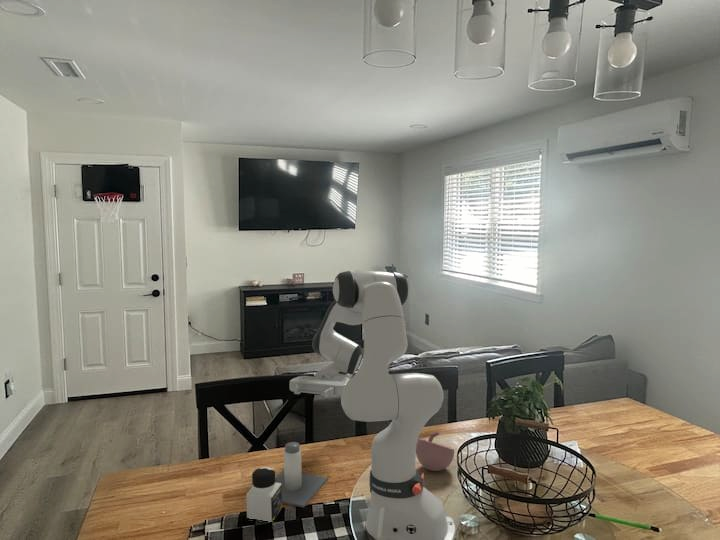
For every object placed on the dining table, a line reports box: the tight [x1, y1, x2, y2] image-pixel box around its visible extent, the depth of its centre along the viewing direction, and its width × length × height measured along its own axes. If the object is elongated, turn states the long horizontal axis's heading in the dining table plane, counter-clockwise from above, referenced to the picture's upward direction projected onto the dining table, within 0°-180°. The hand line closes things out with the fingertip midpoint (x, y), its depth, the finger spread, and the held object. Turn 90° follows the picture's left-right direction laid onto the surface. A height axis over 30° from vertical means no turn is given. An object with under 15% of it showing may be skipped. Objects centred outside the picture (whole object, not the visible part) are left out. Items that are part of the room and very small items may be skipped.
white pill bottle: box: [283, 441, 303, 491], centre depth 140 cm, size 5×5×12 cm
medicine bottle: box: [245, 466, 283, 523], centre depth 127 cm, size 7×7×12 cm
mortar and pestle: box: [416, 431, 455, 472], centre depth 150 cm, size 12×12×11 cm
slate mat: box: [275, 469, 329, 508], centre depth 140 cm, size 15×16×1 cm
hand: (309, 393), depth 150 cm, fingers open, 8 cm apart
